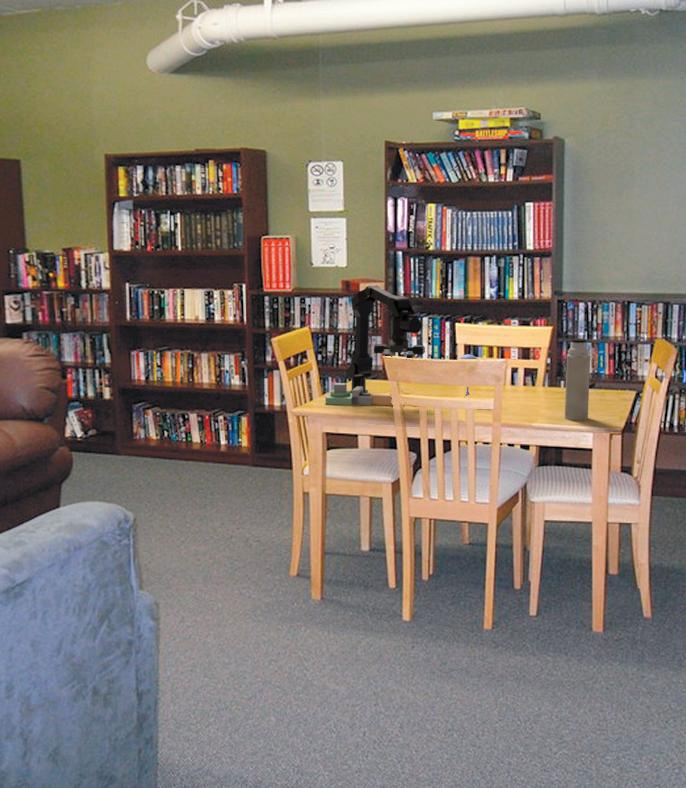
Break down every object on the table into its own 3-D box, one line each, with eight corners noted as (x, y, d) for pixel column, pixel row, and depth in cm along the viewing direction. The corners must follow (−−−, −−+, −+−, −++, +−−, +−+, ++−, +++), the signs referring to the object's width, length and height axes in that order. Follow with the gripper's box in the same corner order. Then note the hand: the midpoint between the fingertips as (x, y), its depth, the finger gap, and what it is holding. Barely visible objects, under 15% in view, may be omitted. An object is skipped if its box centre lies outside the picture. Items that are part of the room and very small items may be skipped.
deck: (332, 399, 416) (332, 381, 414) (376, 400, 412) (376, 382, 410) (325, 404, 405) (325, 385, 404) (370, 405, 401) (370, 387, 400)
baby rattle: (462, 398, 416) (463, 352, 413) (482, 400, 412) (483, 353, 409) (452, 401, 409) (453, 355, 406) (473, 403, 405) (474, 356, 401)
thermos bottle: (562, 416, 380) (564, 337, 375) (584, 415, 381) (587, 337, 376) (567, 420, 373) (570, 340, 368) (590, 420, 373) (593, 340, 368)
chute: (373, 401, 409) (373, 388, 409) (402, 402, 407) (402, 389, 406) (370, 404, 404) (370, 391, 403) (400, 405, 401) (400, 392, 400)
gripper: (370, 332, 396) (370, 374, 398) (420, 334, 392) (420, 376, 394) (376, 329, 406) (376, 370, 409) (425, 330, 402) (424, 371, 405)
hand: (399, 371), depth 404 cm, fingers open, 5 cm apart
